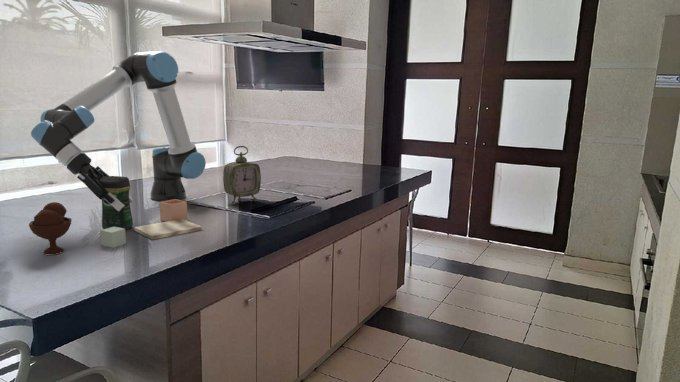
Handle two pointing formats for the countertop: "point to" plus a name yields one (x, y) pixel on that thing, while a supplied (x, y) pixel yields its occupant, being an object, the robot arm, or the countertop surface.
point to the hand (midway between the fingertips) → (126, 205)
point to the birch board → (167, 228)
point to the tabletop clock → (241, 177)
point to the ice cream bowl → (51, 225)
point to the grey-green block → (113, 236)
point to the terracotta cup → (173, 210)
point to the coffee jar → (121, 191)
